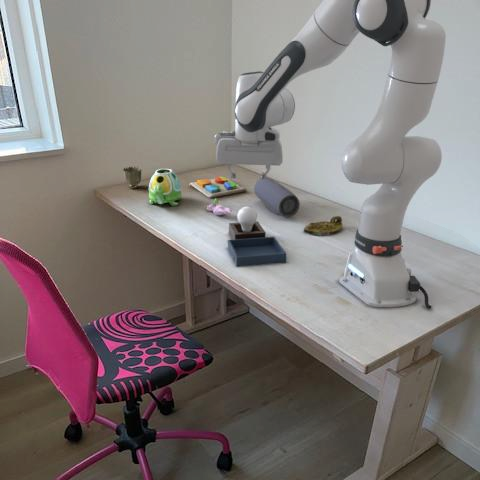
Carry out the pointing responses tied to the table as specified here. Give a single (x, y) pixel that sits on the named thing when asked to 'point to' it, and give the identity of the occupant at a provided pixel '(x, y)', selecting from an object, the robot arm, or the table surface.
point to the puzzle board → (217, 187)
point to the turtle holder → (164, 187)
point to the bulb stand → (238, 233)
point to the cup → (132, 176)
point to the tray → (256, 251)
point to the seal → (325, 227)
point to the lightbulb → (247, 218)
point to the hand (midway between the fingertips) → (248, 178)
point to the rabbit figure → (218, 208)
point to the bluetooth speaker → (276, 197)
